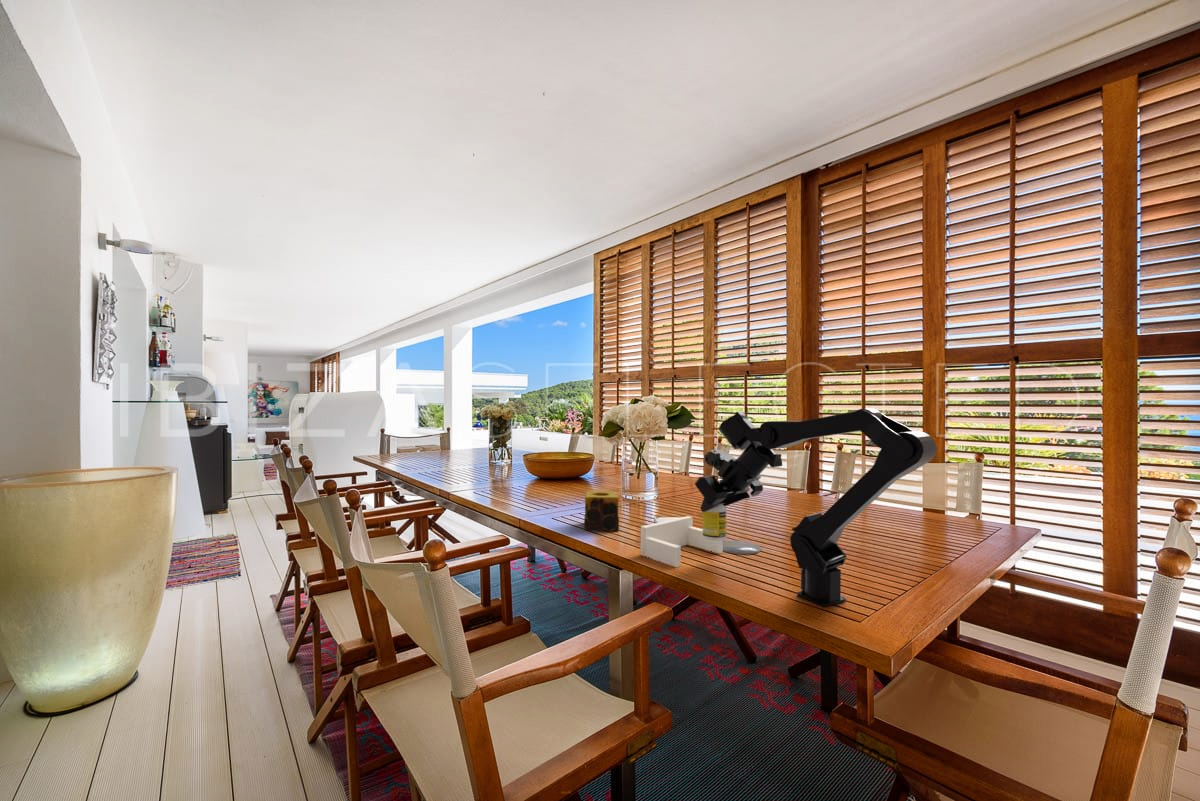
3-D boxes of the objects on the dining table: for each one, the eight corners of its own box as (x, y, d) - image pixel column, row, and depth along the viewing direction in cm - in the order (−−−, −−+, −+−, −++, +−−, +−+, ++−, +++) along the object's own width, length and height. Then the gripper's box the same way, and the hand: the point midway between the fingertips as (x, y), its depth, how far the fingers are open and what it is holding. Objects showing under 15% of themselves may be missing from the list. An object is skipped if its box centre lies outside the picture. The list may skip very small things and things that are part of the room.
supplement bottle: (722, 542, 113) (721, 498, 113) (699, 539, 116) (698, 496, 116) (729, 536, 118) (729, 495, 118) (707, 534, 121) (706, 493, 121)
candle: (619, 532, 144) (619, 497, 144) (583, 531, 145) (584, 497, 144) (618, 523, 155) (618, 490, 155) (585, 522, 155) (585, 490, 155)
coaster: (770, 550, 128) (770, 549, 128) (737, 556, 122) (737, 555, 122) (739, 539, 137) (739, 538, 137) (707, 545, 132) (707, 543, 132)
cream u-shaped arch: (722, 552, 126) (723, 524, 126) (675, 567, 115) (676, 536, 115) (687, 542, 135) (687, 516, 135) (640, 554, 123) (640, 526, 123)
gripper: (750, 436, 120) (714, 478, 129) (701, 440, 108) (664, 486, 117) (781, 472, 114) (741, 513, 122) (732, 480, 102) (691, 525, 110)
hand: (709, 508), depth 118 cm, fingers closed on supplement bottle, 5 cm apart
